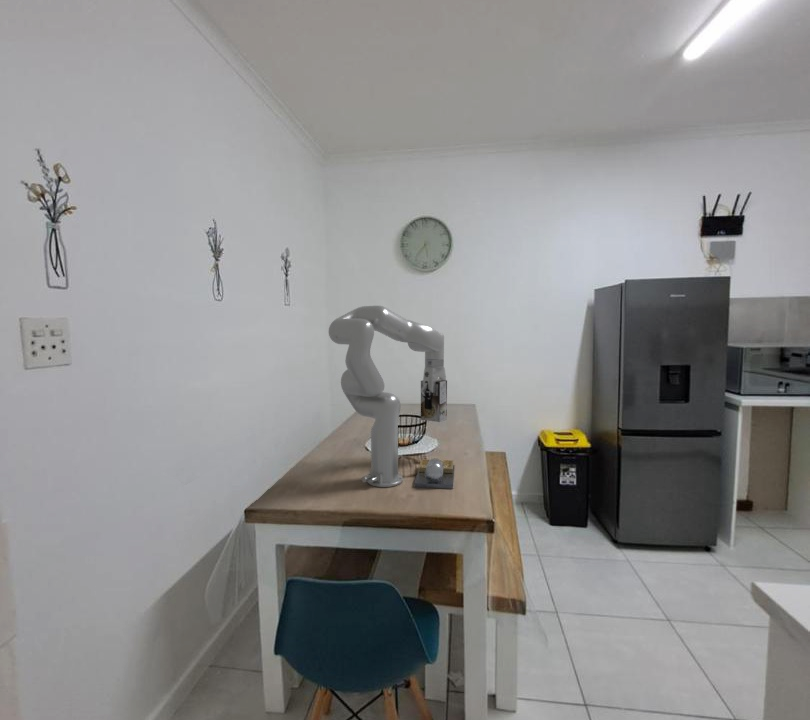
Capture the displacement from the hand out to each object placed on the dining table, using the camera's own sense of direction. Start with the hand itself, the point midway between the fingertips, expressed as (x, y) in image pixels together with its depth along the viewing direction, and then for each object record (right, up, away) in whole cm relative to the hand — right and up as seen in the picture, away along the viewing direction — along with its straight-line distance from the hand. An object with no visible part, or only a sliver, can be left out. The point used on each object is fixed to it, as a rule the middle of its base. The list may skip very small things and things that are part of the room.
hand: (433, 407), depth 170 cm
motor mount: (0, -23, -18) cm, 29 cm away
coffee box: (0, -5, 0) cm, 5 cm away
